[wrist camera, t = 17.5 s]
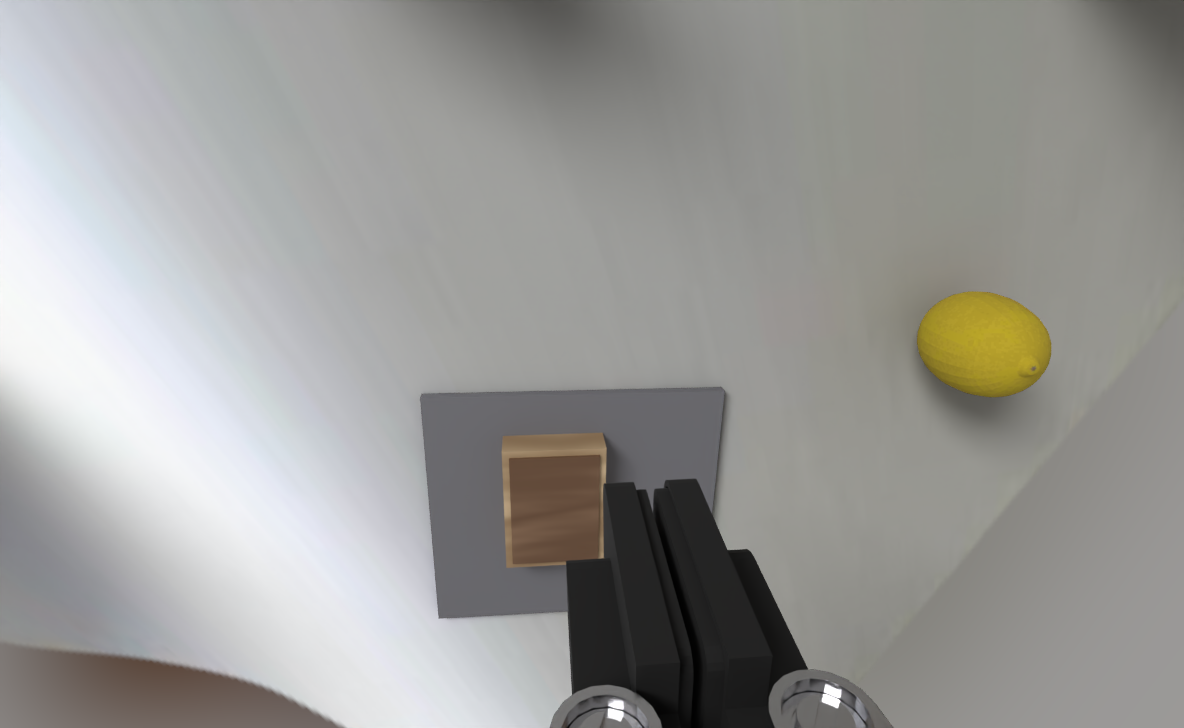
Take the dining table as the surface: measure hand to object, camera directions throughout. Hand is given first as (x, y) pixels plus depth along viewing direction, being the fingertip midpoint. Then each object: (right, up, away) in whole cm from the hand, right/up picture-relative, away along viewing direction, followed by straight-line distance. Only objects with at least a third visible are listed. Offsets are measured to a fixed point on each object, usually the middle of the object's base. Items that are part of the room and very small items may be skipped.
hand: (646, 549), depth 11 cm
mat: (-2, -6, +29) cm, 29 cm away
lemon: (+20, +6, +27) cm, 34 cm away
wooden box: (-3, -9, +28) cm, 30 cm away
